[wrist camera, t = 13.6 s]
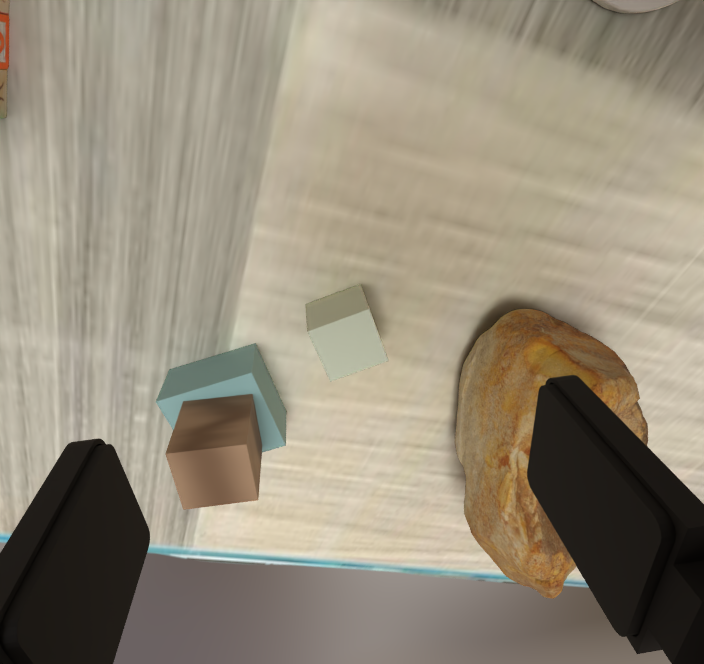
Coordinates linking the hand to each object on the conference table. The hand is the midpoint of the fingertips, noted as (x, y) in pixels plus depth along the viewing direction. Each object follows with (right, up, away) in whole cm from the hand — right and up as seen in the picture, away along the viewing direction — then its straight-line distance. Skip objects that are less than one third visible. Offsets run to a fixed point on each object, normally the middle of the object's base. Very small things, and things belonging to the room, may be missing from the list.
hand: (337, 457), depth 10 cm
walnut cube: (-10, -5, +28) cm, 30 cm away
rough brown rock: (+18, -4, +37) cm, 42 cm away
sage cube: (-1, +4, +30) cm, 31 cm away
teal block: (-11, -3, +33) cm, 35 cm away
